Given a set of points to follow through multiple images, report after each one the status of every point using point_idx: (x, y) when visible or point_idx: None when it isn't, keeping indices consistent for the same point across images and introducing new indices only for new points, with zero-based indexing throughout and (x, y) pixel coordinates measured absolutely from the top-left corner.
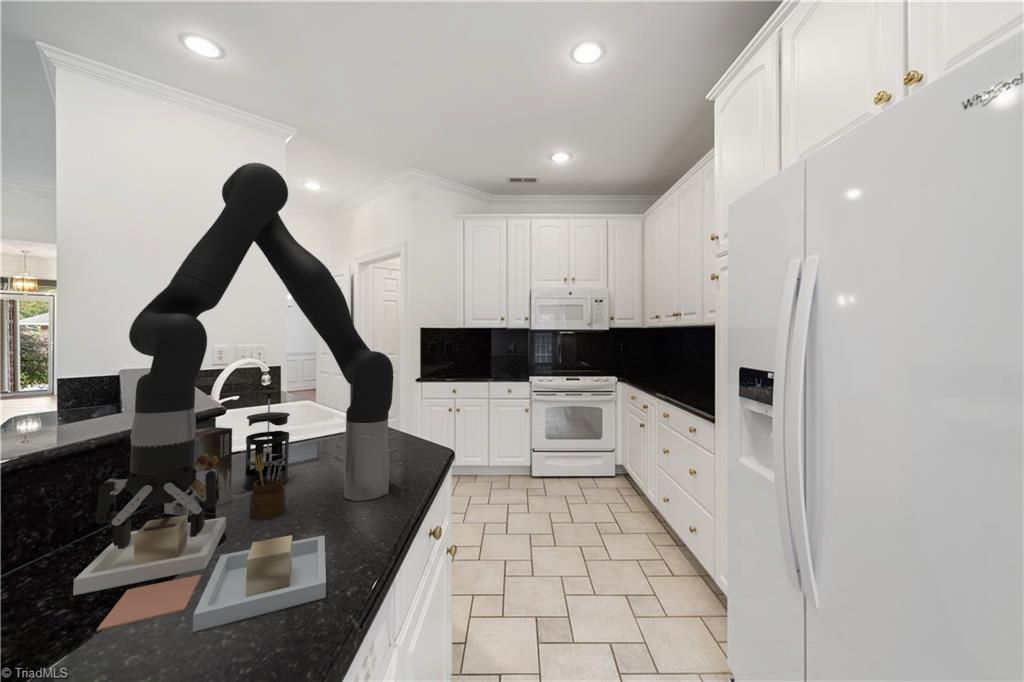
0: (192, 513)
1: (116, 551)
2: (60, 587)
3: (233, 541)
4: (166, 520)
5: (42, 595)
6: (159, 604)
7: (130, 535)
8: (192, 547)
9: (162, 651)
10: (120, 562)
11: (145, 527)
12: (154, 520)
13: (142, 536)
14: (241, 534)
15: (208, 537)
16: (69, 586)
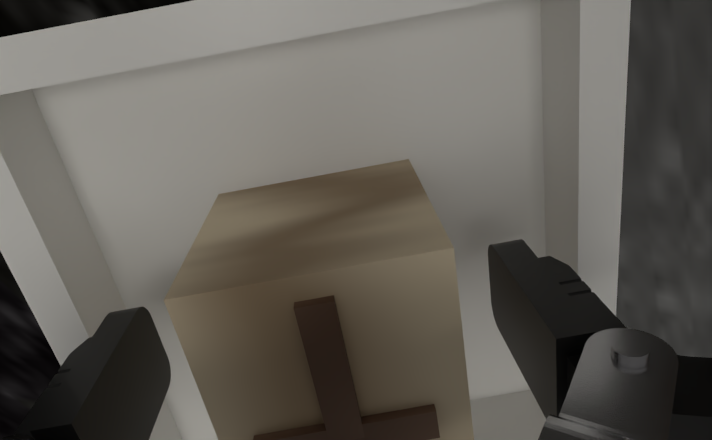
0: (556, 406)
1: (73, 248)
2: (35, 379)
3: (642, 121)
4: (338, 353)
5: (19, 417)
6: None
7: (127, 331)
8: (453, 197)
9: None
10: (154, 279)
11: (236, 413)
12: (215, 299)
13: None
14: (679, 24)
15: None
16: None
